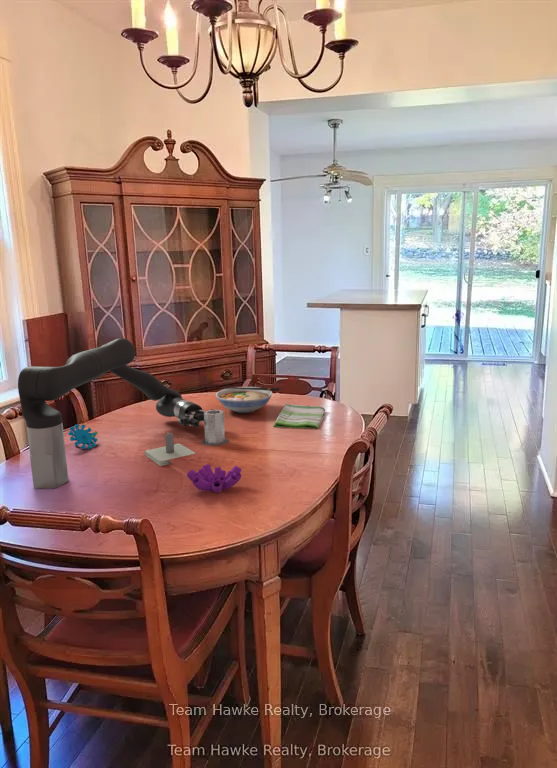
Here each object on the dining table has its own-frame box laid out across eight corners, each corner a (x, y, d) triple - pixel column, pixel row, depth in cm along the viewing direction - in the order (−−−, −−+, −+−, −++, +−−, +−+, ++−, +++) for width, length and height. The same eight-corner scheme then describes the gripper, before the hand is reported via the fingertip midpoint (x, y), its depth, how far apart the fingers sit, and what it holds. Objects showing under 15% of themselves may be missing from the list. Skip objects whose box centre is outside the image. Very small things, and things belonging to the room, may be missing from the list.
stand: (227, 449, 189) (226, 427, 187) (199, 450, 189) (198, 428, 187) (230, 441, 197) (229, 419, 196) (203, 441, 197) (202, 420, 196)
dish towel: (325, 413, 231) (325, 404, 230) (319, 430, 209) (319, 421, 208) (283, 411, 234) (282, 403, 233) (272, 428, 212) (272, 419, 211)
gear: (79, 449, 187) (65, 424, 189) (70, 460, 189) (56, 435, 192) (106, 444, 196) (92, 420, 199) (97, 454, 198) (83, 431, 201)
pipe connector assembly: (240, 506, 155) (233, 488, 148) (186, 502, 158) (177, 484, 151) (247, 469, 162) (241, 450, 155) (196, 466, 165) (187, 447, 158)
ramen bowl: (204, 416, 226) (203, 396, 225) (225, 402, 248) (224, 383, 246) (266, 420, 220) (265, 400, 218) (282, 405, 241) (281, 386, 239)
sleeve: (211, 445, 189) (209, 415, 186) (202, 440, 193) (201, 411, 191) (227, 441, 192) (226, 412, 190) (218, 437, 197) (217, 408, 194)
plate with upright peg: (160, 466, 175) (158, 441, 174) (145, 455, 185) (143, 431, 183) (196, 457, 182) (195, 434, 180) (179, 447, 192) (178, 424, 190)
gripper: (168, 404, 202) (189, 415, 189) (205, 398, 210) (227, 408, 197) (170, 425, 204) (190, 437, 191) (206, 418, 212) (228, 429, 199)
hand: (209, 422), depth 194 cm, fingers open, 8 cm apart
